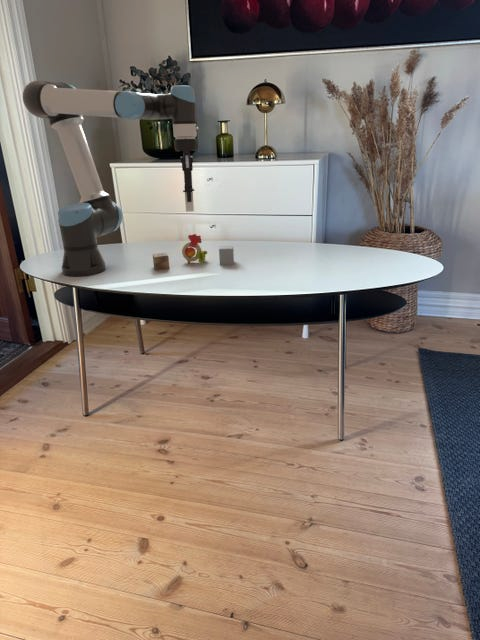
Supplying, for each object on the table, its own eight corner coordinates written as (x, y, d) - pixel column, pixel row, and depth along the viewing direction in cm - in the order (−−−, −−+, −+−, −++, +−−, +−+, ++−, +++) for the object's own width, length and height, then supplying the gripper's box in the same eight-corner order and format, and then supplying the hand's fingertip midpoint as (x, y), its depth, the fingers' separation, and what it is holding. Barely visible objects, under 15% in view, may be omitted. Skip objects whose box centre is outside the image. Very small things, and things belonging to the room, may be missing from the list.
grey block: (219, 265, 175) (219, 249, 173) (220, 261, 180) (219, 246, 178) (233, 264, 175) (232, 248, 173) (233, 261, 180) (233, 245, 178)
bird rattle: (189, 270, 178) (211, 259, 178) (175, 243, 174) (197, 232, 174) (189, 266, 184) (210, 255, 183) (175, 240, 180) (197, 229, 179)
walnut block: (155, 270, 172) (154, 257, 170) (153, 267, 176) (152, 254, 174) (169, 269, 173) (168, 255, 171) (167, 265, 177) (166, 252, 176)
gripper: (197, 138, 151) (201, 213, 160) (196, 137, 163) (200, 207, 172) (173, 138, 150) (178, 214, 159) (174, 138, 163) (178, 208, 171)
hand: (189, 211), depth 166 cm, fingers closed
